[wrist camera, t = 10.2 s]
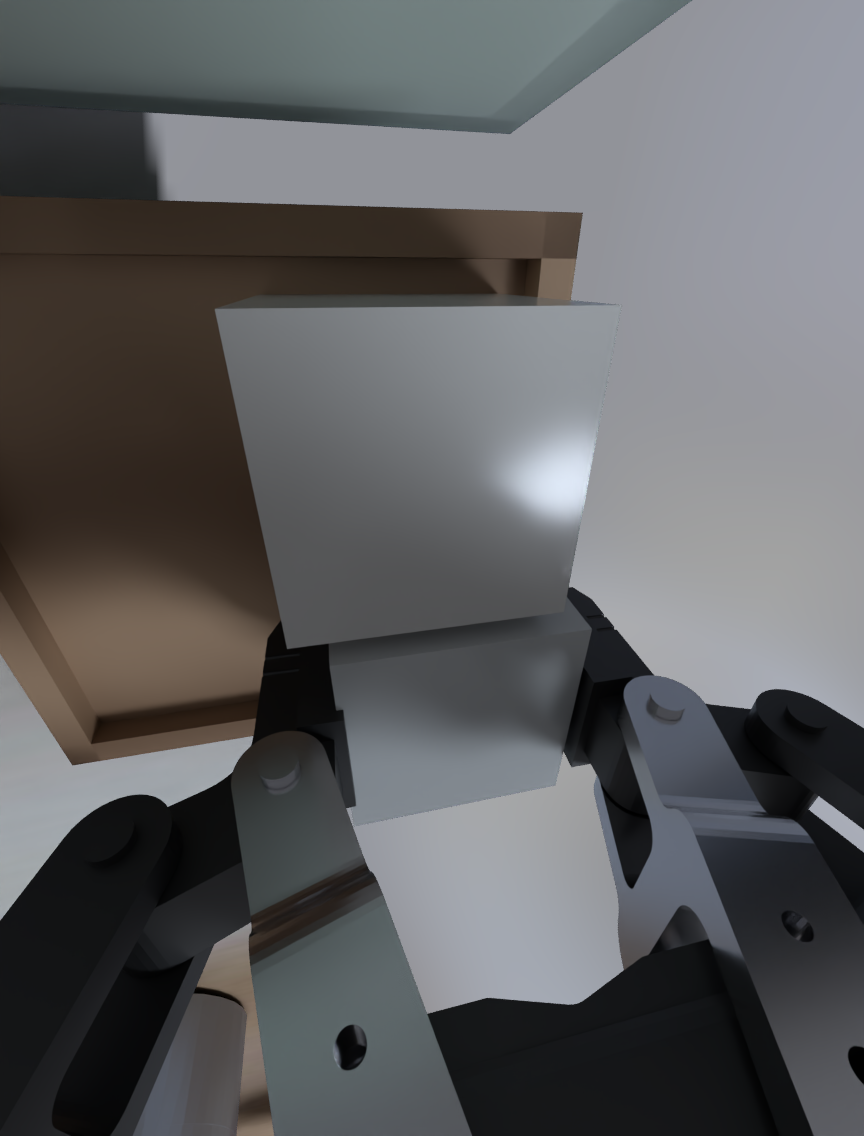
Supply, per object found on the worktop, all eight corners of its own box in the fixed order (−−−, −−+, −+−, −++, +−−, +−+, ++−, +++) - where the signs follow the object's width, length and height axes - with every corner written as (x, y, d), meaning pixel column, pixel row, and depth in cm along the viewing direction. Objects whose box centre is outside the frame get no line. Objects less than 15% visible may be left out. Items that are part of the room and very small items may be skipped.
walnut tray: (499, 658, 14) (516, 692, 13) (95, 718, 12) (72, 765, 11) (546, 221, 8) (582, 213, 7) (-192, 202, 7) (-300, 187, 5)
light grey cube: (483, 503, 10) (563, 611, 7) (297, 520, 10) (287, 649, 6) (497, 293, 8) (622, 305, 5) (259, 294, 7) (213, 308, 4)
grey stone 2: (492, 652, 13) (555, 785, 9) (342, 673, 12) (354, 826, 9) (504, 518, 11) (591, 628, 7) (324, 535, 10) (329, 666, 7)
